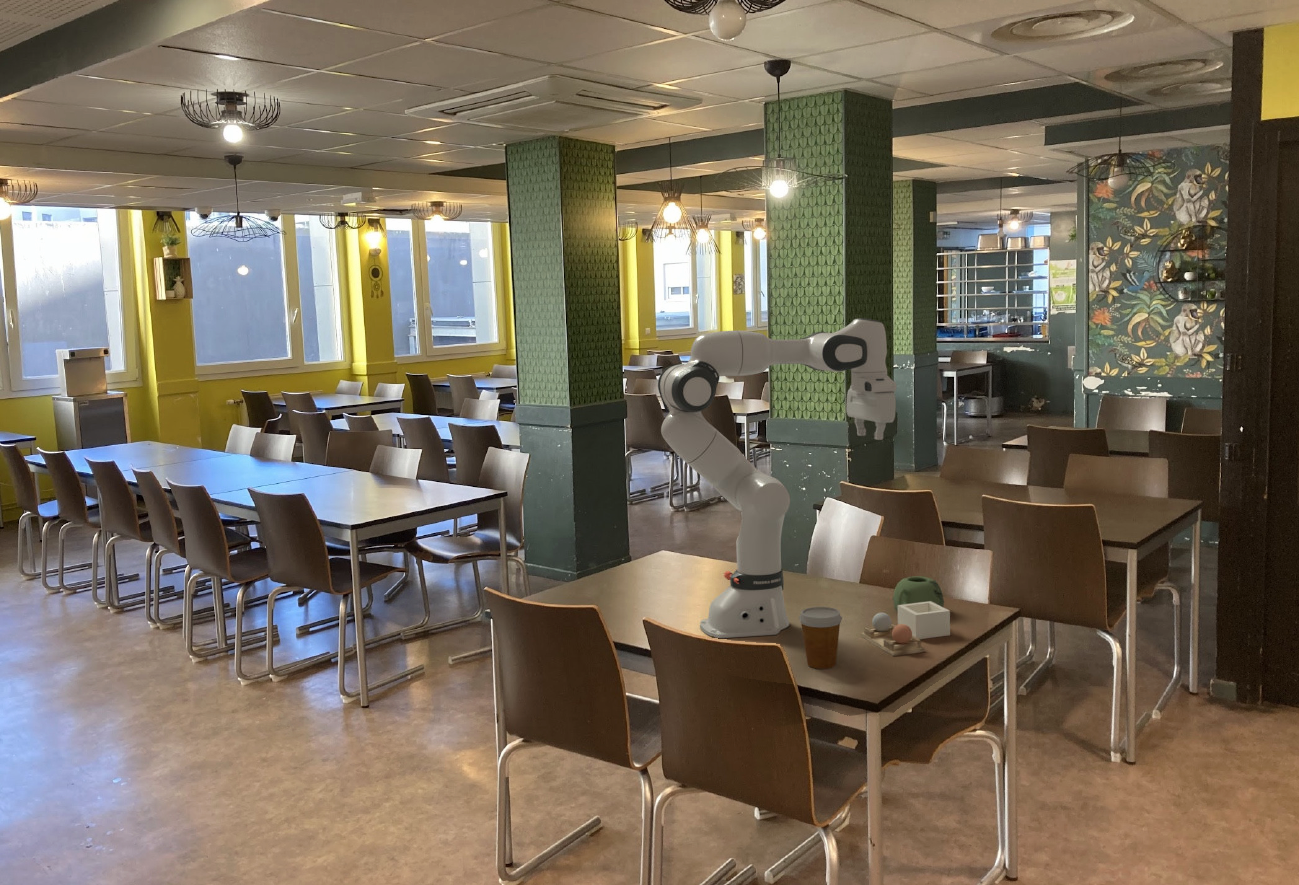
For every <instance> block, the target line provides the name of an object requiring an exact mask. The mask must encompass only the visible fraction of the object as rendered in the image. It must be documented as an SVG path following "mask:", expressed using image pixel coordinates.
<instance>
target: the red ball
mask: <svg viewBox="0 0 1299 885" xmlns="http://www.w3.org/2000/svg"><path fill="white" fill-rule="evenodd" d="M892 636H893V639H894V640H895V641H896V642H897V643H900V644H905V643H908V642H909V641H910V640H911V638H912V631H911V629H910V628H909V627H908V626H907V625H905V624H899V625H898V624H897V625H896V626H895V627H894V629H893V631H892Z"/></svg>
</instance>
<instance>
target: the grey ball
mask: <svg viewBox="0 0 1299 885" xmlns="http://www.w3.org/2000/svg"><path fill="white" fill-rule="evenodd" d="M871 621H872V622H871V623H872V626H873V629H876V630H878V631H881V632H884V631H887V630H888V629H889V628H890V627H891V624H893V623H892V622H893V621H892V618H891V617H890V615H889V614H887V613H885V612H878V613H876V614H874V616H873V617H872V620H871Z"/></svg>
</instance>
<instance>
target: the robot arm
mask: <svg viewBox="0 0 1299 885" xmlns="http://www.w3.org/2000/svg"><path fill="white" fill-rule="evenodd" d="M886 333H887V332H886V329H885V326H884V324H883V323H882V322H881V321H880V320H878V319H877V320H876V319H871V318H863V317H862V318H861V317H859V318H858V317H857V318H854V319H853V320H852V321H851V322H850V323H849V324H848V325H846V326H845V327H843V328H840V329H839V330H837V331H834V332H826V331H817V332H813V333H811V334H809V335H807V336H806V337H803V338H799V339H798V338H794V339H792V338H791V339H786V338H785V339H774V338H769V337H767V336H766V335H765V334H764V333H760V332H756V331H751V330H722V331H714V332H708V333H703V334H700V335H699V336H697V337H696V338H695V339H694V340H693V343H692V345H691V348H690V358H689V360H688V361H687V362H686V363H673V364H671V365H669V366H668V367H665V369H663V371H662V372H660V375H659V376H658V380H657V388H658V393H659V396H660V398H661V402H662V404H663V407H664V410H665V411H666V412H668V414H667V415H666V417H665V418H664V420H663V422H662V424H661V428H660V432H661V436H662V438H663V439H664V440H665V442H666V443H667V445H669V447H670V448H671V449H672V450H673V451H674V453H675V454H676V455H677V456H678V457H679V458H680V459H681V460H682V461H683V462H684V463H686V464H687V465H688V466H690V468H692V469H693V470H694V471H695V472H696V473H698V475H700V476H701V477H702V478H703V479H704V480H705V481H707V483H709V485H711V487H713V488H714V489H715V490H716V491H717V492H718V494H720V495H721V497H723V498H724V499H725V500H727V502H729V504H731V506H733V507H734V508H735V509H736V510H738V511H740V512H741V523H740V529H739V534H738V536H737V538H736V541H735V542H736V543H735V544H736V545H735V546H736V547H735V548H736V568H737V569H736V570H735V571H734V572H731V571H729V570H725V572H724V573H723V578H725V579H726V580H728V581H730V586H728V587H727V588H726V589H725V590H724V591H722V592H721V593H720V594H719V595H718V596H717V597H715V598H714V599H713V600H712V601H711V602H710V605H709V610H708V616H707V618H705V619H702V620H701V621H700V623H699V624H700V625H699V627H700V630H701V631H702V632H704V633H705V634H706V635H707V636H710V637H712V636H714V637H713V638H717V639H726V638H727V639H728V638H739V637H740V638H743V637H744V638H745V637H757V636H759V637H760V636H761V637H762V636H773V635H778V634H779V633H780V632H781V631H782V630H784V629H786V628H788V627H789V626H790V621H789V617H788V614H787V611H786V606H785V600H784V592H783V591H784V584H785V578H784V570H783V568H782V558H781V557H782V556H781V555H782V553H781V544H782V543H781V540H782V531H783V525H784V521H785V516H786V513H787V512H788V510H789V508H790V504H791V496H790V494H789V491H788V490H787V488H786V487H785V485H784V484H783V483H782V482H781V481H780V480H779V479H778V478H775V477H774V476H771V475H768V474H766V473H764V472H762V471H761V470H759V469H758V468H757V467H755V466H754V465H753V463H751V461H749V460H748V459H747V458H746V456H745V455H744V454H743V453H742V451H740V449H739V448H738V447H737V446H736V445H735V444H734V443H732V442H731V441H730V440H729V439H728V438H727V437H726V436H724V434H722V433H721V432H720V431H719V430H718V429H717V428H715V427H714V426H713V425H712V424H710V422H708V421H707V419H706V418H705V417H704V415H703V414H702V411H705V410H706V409H707V408H709V406H711V405H712V403H713V401H714V399H715V397H716V393H717V388H718V385H719V382H720V377H742V376H743V377H744V376H751V375H756V374H757V375H758V374H760V373H764V372H765V371H766V370H767V369H768V368H769V367H770V366H773V365H796V364H797V365H804V366H806V367H808V368H809V369H812V370H815V371H817V372H819V371H820V372H823V371H825V372H833V373H835V372H836V373H841V372H846V371H849V370H850V371H851V375H850V377H851V379H850V381H851V384H850V387H849V389H848V390H847V395H846V410H845V411H846V414H847V417H849V418H854V424H855V427H856V431H857V432H856V434H857V436H861V437H865V436H866V435H867V428H865V421H870V422H874V423H875V431H874V432H873V439H874V440H877V441H882V440H883V439H884V432H885V429H886V426H887V423H893V422H894V420H895V418H896V394H895V392H896V391H897V383H896V382H895V381H894V380H893V379H891V378H890V376H889V375H888V368H887V365H886V364H887V363H886V358H887V354H888V350H887V346H888V345H887V334H886Z"/></svg>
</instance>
